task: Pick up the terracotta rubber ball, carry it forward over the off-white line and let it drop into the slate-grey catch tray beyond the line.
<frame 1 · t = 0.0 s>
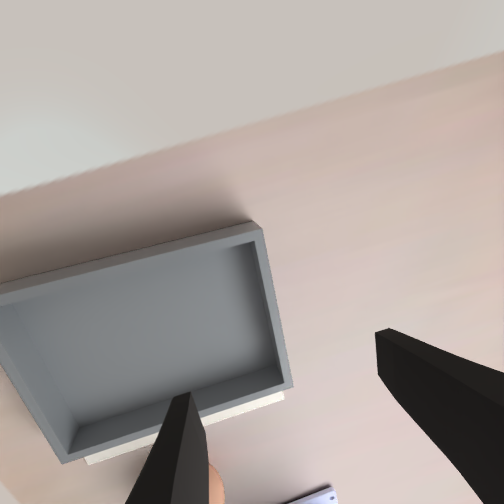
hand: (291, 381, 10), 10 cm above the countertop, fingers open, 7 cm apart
ball: (191, 500, 21), point 2 cm above the countertop
catch tray: (161, 329, 20), on the countertop
throw line: (187, 420, 22), on the countertop
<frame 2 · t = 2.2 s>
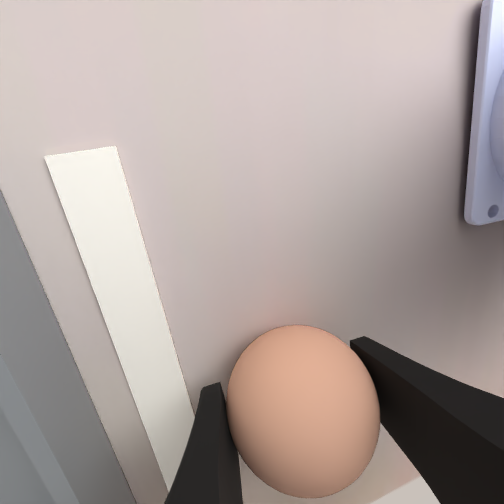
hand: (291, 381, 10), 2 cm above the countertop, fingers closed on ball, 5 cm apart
ball: (299, 400, 10), point 2 cm above the countertop, touching gripper
throw line: (152, 367, 11), on the countertop
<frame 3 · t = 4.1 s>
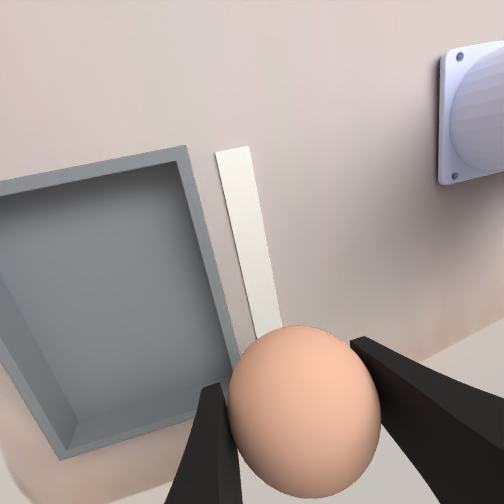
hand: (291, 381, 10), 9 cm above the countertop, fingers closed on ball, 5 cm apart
ball: (300, 401, 10), point 10 cm above the countertop, touching gripper
catch tray: (126, 300, 18), on the countertop
throw line: (257, 273, 19), on the countertop
when the fingers open (4 cm above the countertop, at t = 6.4 s): ball drops 2 cm, resting on catch tray.
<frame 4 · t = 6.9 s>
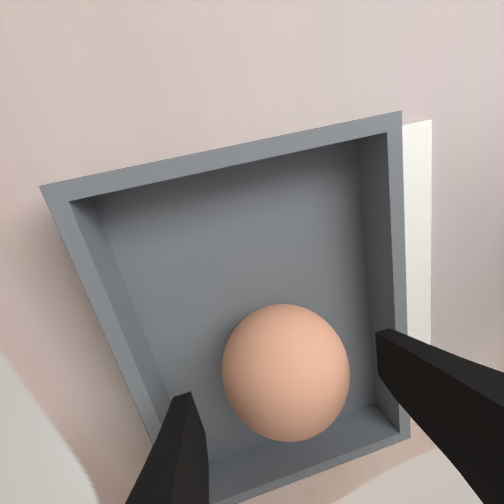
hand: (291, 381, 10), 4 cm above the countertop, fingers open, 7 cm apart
ball: (284, 366, 11), point 3 cm above the countertop, touching catch tray
catch tray: (263, 316, 14), on the countertop
throw line: (413, 280, 15), on the countertop
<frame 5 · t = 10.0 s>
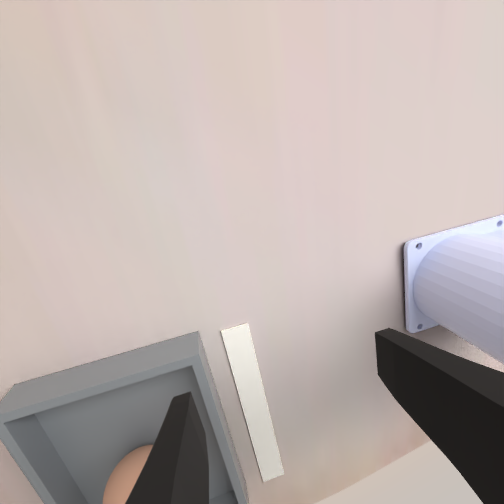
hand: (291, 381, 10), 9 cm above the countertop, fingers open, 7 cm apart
ball: (145, 490, 18), point 3 cm above the countertop, touching catch tray
catch tray: (148, 441, 21), on the countertop
throw line: (256, 410, 22), on the countertop
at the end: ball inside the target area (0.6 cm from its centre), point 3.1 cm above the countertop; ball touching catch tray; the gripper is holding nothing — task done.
